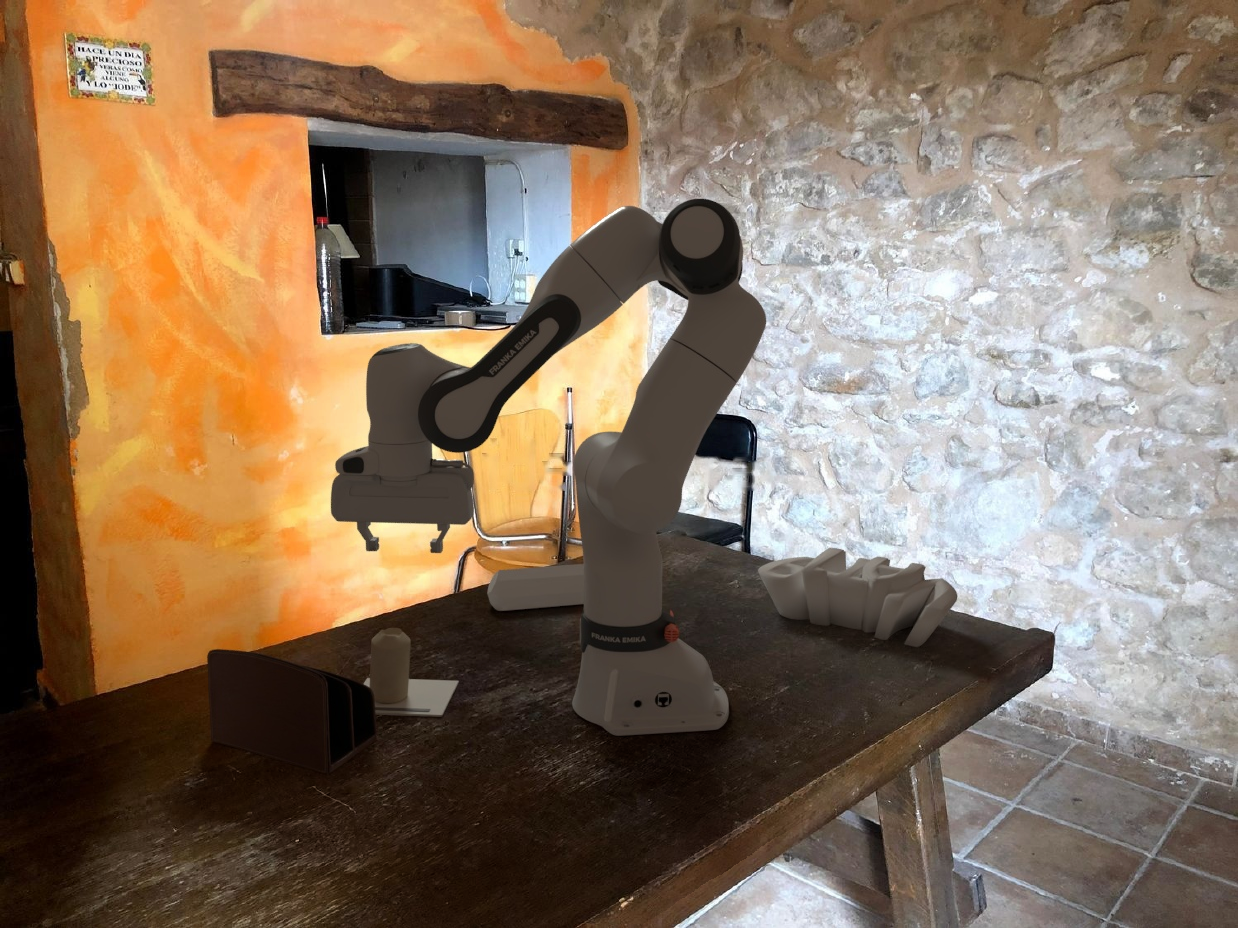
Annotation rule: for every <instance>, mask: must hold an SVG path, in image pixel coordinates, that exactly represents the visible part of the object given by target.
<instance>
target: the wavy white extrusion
mask: <svg viewBox="0 0 1238 928" xmlns="http://www.w3.org/2000/svg"><path fill="white" fill-rule="evenodd" d="M890 563H891V559H889V557H885V556H876V557H873V558H871V559H868V558H863V557H859V558H857V560H855V562H854V563H853V564H852V565H851V566H850V567H849V568H847V553H846V551H845V550H844V549H842V548H838V547H828V548H827V549H825V550H824V551H822V552H821V553H820V554H818V555H817V556H816V557H809V556H798V557H797V556H796V557H787V558H782V559H776V560H774V561H771V562H768V563H765V564H763V565H762V566H760V567H759V568H758V569H757V572H758V575H759V577H760V578H761V581H762V582H763V583H764V586H765V588H766V590H767V592H768V594H769V596H770V598H771V600H772V602H773V604H774V606H775V608H776V610H777V612H778V614H779V615H780V616H782V617H783V618H786V619H790V620H796V621H797V620H800V621H801V620H809V622H810V624H813V625H817V626H818V625H819V626H830V625H836V626H838V627H839V626H840V627H843V628H848V629H852V630H857V631H859V630H860V631H861V630H862V631H863V632H864V633H874V636H873V638H876V639H877V640H878V639H879V640H884V641H888V639H890V637H891V636H892V635H894V634H896V633H898V632H900V631H901V630H905V629H908V628H910V627H912V629H911V631H910V632H909V634H908V635H907V637H906V640H905V641H904V643H903V645H904V646H909V647H915V648H919V647H920V646H922V645H924V644H925V643H926V642H927V640H929V638H930V636H931V635H932V634H933V633H934V631H935V630H936V628H937V627H938V626H939V625H940V624H941V622H942V621H943V620H944V618H945V617H946V616H947V614H948V613H949V612H950V611H951V609H952V608H953V607H954V605H955V603H956V602H957V601H958V593H957V591H956V589H955V588H954V586H952V584H951V583H949V582H948V581H947V580H946V579H944V578H940V577H939V578H930V579H926V577H925V570H926V567H927V566H925V565H924V564H922V563H915V562H911V563H910V564H909V565H908V566H907V567H905V568H904V567H895V566H890Z"/></svg>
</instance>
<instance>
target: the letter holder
mask: <svg viewBox="0 0 1238 928" xmlns="http://www.w3.org/2000/svg"><path fill="white" fill-rule="evenodd" d="M206 658H207V661H206V663H207V677H208V678H207V682H208V684H207V685H208V686H207V689H208V703H209V724H210V738H211V739H210V741H211V742H212V743H216V744H218V745H219V744H220V745H223V746H226V747H230V748H234V749H237V750H241V751H244V752H248V753H250V754H255V755H259V756H262V757H265V758H269V759H272V760H275V761H279V762H282V763H285V764H290V765H292V766H293V765H294V766H297V767H301V768H303V769H308V770H311V771H314V772H317V773H320V774H323V775H324V774H325V775H327V776H328V775H330V774H332V773H333V772H334V771H337V769H339V768H340V767H341V766H344V764H346V763H347V762H348V761H350V760H352V758H354V757H355V756H357V755H358V754H360V753H361V752H363V751H364V750H365V749H367V748H369V747H370V746H371V745H373V743H375V742H377V740H378V729H377V717H376V716H377V715H375V698H374V693H373V691H372V690H371V688H369V687H368V686H366V685H364V683H362V682H361V681H358V680H355V679H352V678H350V677H347V676H343V675H341V674H337V673H334V672H330V671H327V670H323V669H320V668H316V667H315V668H314V667H311V666H306V665H301V664H298V663H295V662H291V661H288V660H284V659H281V658H278V657H275V656H270V655H267V654H262V653H259V652H258V653H257V652H252V651H243V650H238V649H236V650H235V649H223V648H222V649H220V648H216V649H211V650H209V651H208V652H207V655H206Z"/></svg>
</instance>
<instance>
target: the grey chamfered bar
mask: <svg viewBox="0 0 1238 928" xmlns="http://www.w3.org/2000/svg"><path fill="white" fill-rule="evenodd" d="M487 587H488V588H487V592H486V594H487V597H488V601H489V604H490V605H491V606H492V607H493V608H494V610H496V611H497V612H498V611H499V612H503V611H505V612H506V611H515V610H525V609H526V610H528V609H539V608H541V609H542V608H551V607H560V606H561V607H562V606H563V607H564V606H574V605H575V606H576V605H584V563H577V564H575V563H574V564H564V565H554V566H553V565H550V566H549V565H548V566H536V567H523V568H522V567H521V568H511V569H510V568H507V569H499V570H498V571H496V572H495V573H494V574H493V576H492V578H491V580H490V582H489V584H488V586H487Z"/></svg>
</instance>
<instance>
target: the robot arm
mask: <svg viewBox="0 0 1238 928" xmlns="http://www.w3.org/2000/svg"><path fill="white" fill-rule="evenodd" d="M743 258H744V246H743V242H742V237H741V233H740V228H739V225H738V222H737V221H736V218H735V217H734V216H733V215H732V213H731V212H730V211H729V210H728V209H727V208H726V207H725V206H723V205H722V204H720V203H718V202H717V201H714V200H711V199H708V198H693V199H688V200H685V201H683V202H681V203H679V204H677V205H676V206H675V207H674V208H673V209H672V210H670V211H669V212H668V214H667V215H666V216H665V218H664V219H663V222H662V223H661V222H660V221H657V220H656V218H655V217H654V216H652V215H651V214H650V213H649V212H647V211H646V210H644V209H643V208H640V207H637V206H634V205H624V206H621V207H618V208H617V209H615V210H613V211H611V212H610V213H609V214H608V215H606V216H604V217H603V218H602V219H600V220H598V221H597V222H596V223H594V224H593V225H591V227H589V228H588V229H586V231H584V232H583V233H582V234H580V235H579V236H578V237H577V238H576V239H574V241H572V242H571V243H570V244H569V245H568V246H567V247H566V248H565V249H564V250H563V251H562V252H561V253H560V254H559V255H558V256H557V257H556V259H555V260H554V261H553V262H551V264H550V266H549V267H548V269H547V270H546V271H545V272H544V274H543V275H542V276H541V278H540V280H539V281H538V282H537V284H536V287H535V288H534V291H533V294H532V297H531V299H530V300H529V303H528V306H527V307H526V309H525V311H524V312H523V314H522V315H521V317H520V319H519V320H518V321H517V323H516V324H515V325H514V326H513V327H511V329H510V330H509V331H508V332H507V333H506V334H505V335H504V336H502V338H501V339H500V340H499V341H498V342H497V343H496V344H495V345H494V346H492V348H490V349H489V350H488V351H487V353H486V354H484V355H483V356H482V357H481V358H480V359H479V360H478V361H477V362H476V363H475V364H474V365H472V366H471V367H470V366H466V365H462V364H459V363H455V362H453V361H451V360H448V359H446V358H443V357H441V356H439V355H437V354H435V353H433V352H432V351H431V350H428V349H427V348H426V347H425V346H424V345H422V344H421V343H420V344H419V343H413V342H410V343H402V344H396V345H395V344H394V345H391V346H388V347H384V348H381V349H379V350H377V351H376V352H375V353H373V355H372V356H371V357H370V358H369V360H368V363H367V369H366V381H365V382H366V383H365V384H366V385H365V393H366V394H365V396H366V399H365V402H366V411H367V414H368V416H369V421H370V422H369V423H370V424H369V425H370V426H369V431H368V435H367V443H368V444H367V446H363V447H360V448H356V449H353V450H350V451H348V452H346V453H344V454H342V455H341V456H339V457H338V459H336V461H335V463H334V464H335V465H334V467H335V472H336V473H337V474H338V475H337V476H335V477H334V479H333V481H332V485H331V491H330V513H331V516H332V518H333V519H334V520H335V521H336V522H339V523H340V522H341V523H342V522H343V523H345V522H346V523H356V529H357V531H358V532H359V534H360V536H361V537H362V539H363V540H364V541H365V550H366V552H377V551H379V549H380V544H379V542H380V537H379V536H374V535H373V533H372V531H371V530H370V528H369V527H370V526H371V525H372V523H379V524H382V523H383V524H384V523H385V524H386V523H387V524H414V525H415V524H419V525H420V524H421V525H427V524H428V525H436V528H437V529H436V530H437V531H438V532H440V533H439V535H438V537H437V538H432V539H431V540H430V542H429V546H430V549H429V550H430V551H429V552H430V554H442V552H443V549H444V541H443V540H444V539H445V537H446V535H447V534H448V532H449V530H450V528H451V525H457V526H458V525H459V526H460V525H461V526H463V525H467V524H468V522H469V521H471V520H472V518H473V517H474V514H475V506H474V505H475V504H474V503H475V502H474V497H473V491H472V489H473V487H474V485H475V476H474V475H475V473H474V472H475V471H474V469H473V468H472V467H471V465H470V464H468V463H466V462H464V460H462V459H444V458H443V459H442V458H441V459H440V458H433V445H434V446H435V447H437V448H438V449H440V450H442V451H445V452H448V453H456V454H461V453H468V452H471V451H473V450H476V449H477V448H479V447H481V446H482V445H483V444H485V442H487V440H488V439H489V437H490V436H491V434H492V433H493V430H494V429H495V427H496V423H497V421H498V418H499V416H500V415H501V414H500V413H501V411H502V410H503V407H504V406H505V405H506V403H507V402H508V401H509V399H510V398H511V397H513V395H514V394H515V393H516V392H517V391H518V390H519V389H521V387H522V386H524V384H525V383H526V382H527V381H528V380H529V379H531V378H532V377H533V375H535V373H537V371H538V372H539V370H540V369H541V368H542V367H543V366H544V365H545V364H546V363H547V362H548V361H549V360H550V359H551V358H552V357H554V356H555V354H558V353H559V352H561V350H562V349H564V348H565V347H567V346H569V345H570V344H572V343H573V342H575V341H576V340H578V339H579V338H581V337H582V336H584V335H585V334H587V333H588V332H590V331H591V330H593V329H595V328H596V327H598V326H599V325H601V324H602V323H603V322H604V321H606V320H607V319H608V318H610V317H611V316H612V315H613V314H614V313H615V312H617V311H618V310H619V309H620V308H621V307H622V306H623V304H626V302H627V301H629V299H631V298H632V296H634V295H635V294H636V293H637V292H638V291H639V290H640V289H642V288H643V287H644V286H646V285H647V284H649V283H651V282H652V283H653V282H656V281H657V283H658V284H659V286H661V287H663V288H664V289H667V290H669V291H671V292H672V293H674V294H676V295H677V296H679V297H681V298H682V299H684V300H687V301H688V302H687V307H686V310H685V313H684V315H683V317H682V319H681V320H680V322H679V324H678V326H677V327H676V329H674V332H673V333H672V334H671V336H670V337H669V339H668V340H667V341H666V342H665V345H664V347H663V348H662V349H661V351H660V352H659V353H658V355H657V357H656V358H655V360H654V361H653V363H652V364H651V366H650V367H649V369H648V371H647V372H646V373H645V375H644V376H643V378H642V379H641V381H640V383H638V386H637V389H636V391H635V399H634V402H633V404H632V407H631V410H630V412H629V415H628V417H627V419H626V422H625V425H624V426H623V429H622V431H602V432H597V433H594V434H592V435H590V436H588V437H587V438H586V439H584V440H583V441H582V442H581V444H580V445H579V446H578V448H577V450H576V451H575V454H574V458H573V473H574V479H575V492H576V493H575V494H576V504H577V505H576V507H577V515H578V525H579V533H580V540H581V547H582V548H581V549H582V558H583V559H582V560H583V564H584V604H583V609H582V610H581V615H580V619H579V645H580V650H581V652H582V653H581V662H580V669H579V675H578V681H577V685H576V689H575V692H574V695H573V698H572V704H571V705H572V708H573V710H574V712H575V713H576V714H577V715H578V716H579V717H581V718H583V719H584V720H586V721H588V722H590V723H593V724H596V725H597V726H600V727H602V728H603V729H604V730H605V731H607V733H609V734H610V735H613V736H618V737H619V736H621V737H622V736H635V735H636V736H637V735H652V734H669V733H670V734H671V733H686V732H702V731H704V732H705V731H715V730H719V729H720V728H722V727H723V726H724V725H725V724H726V723H727V721H728V719H729V715H730V706H729V698H728V695H727V693H726V690H724V688H723V687H722V686H721V685H720V684H718V683H717V682H716V681H714V678H713V674H712V670H711V668H710V665H709V662H708V661H707V660H706V658H705V656H704V655H703V654H702V653H700V652H698V651H697V650H696V649H694V648H693V647H691V646H690V645H688V644H687V643H686V642H684V641H683V640H682V639H680V638H679V636H680V629H679V627H678V626H677V621H676V618H675V616H674V613H673V611H672V610H671V609H670V611H669V612H667V611H665V610H664V609H662V607H663V567H664V566H663V565H664V564H663V561H664V560H663V556H662V553H661V550H660V549H661V548H660V545H659V541H658V540H659V539H658V535H657V532H659V531H661V530H663V529H665V528H666V527H667V526H669V525H670V524H672V521H674V519H675V518H676V516H677V514H678V513H679V511H680V509H681V505H682V498H683V488H684V484H685V481H686V478H687V476H688V473H689V471H690V467H692V466H691V465H692V463H693V460H694V458H695V455H696V454H697V451H698V448H699V447H700V444H701V441H702V439H703V438H704V436H705V434H706V432H707V429H708V428H709V426H710V425H711V423H712V422H713V420H714V419H715V417H716V416H717V414H718V413H719V412H720V409H721V408H722V406H723V405H724V404H725V401H726V400H727V399H728V397H729V395H730V394H731V392H733V390H734V388H735V386H736V385H737V383H738V382H739V381H740V379H741V377H742V375H743V374H744V373H745V371H746V369H747V367H748V365H749V364H750V362H751V361H752V358H753V356H754V354H755V352H756V350H757V348H758V346H759V344H760V342H761V340H762V337H763V334H764V331H765V330H766V326H767V315H766V312H765V310H764V307H763V306H762V305H761V303H760V302H759V300H758V299H757V298H756V297H755V296H754V295H753V294H751V293H750V292H749V291H748V290H746V289H744V288H743V287H742V286H741V284H740V281H741V279H742V275H743V265H744V264H743Z"/></svg>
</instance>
